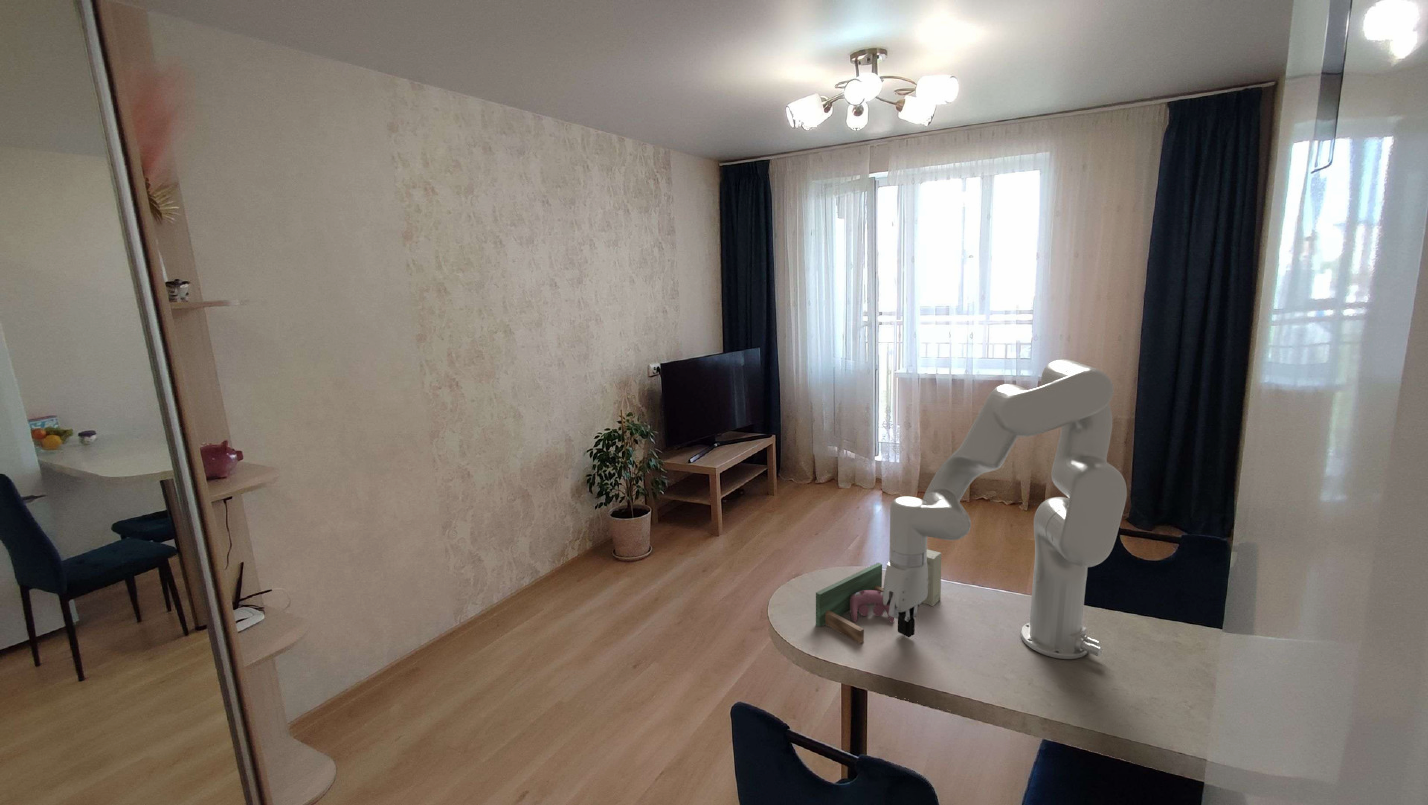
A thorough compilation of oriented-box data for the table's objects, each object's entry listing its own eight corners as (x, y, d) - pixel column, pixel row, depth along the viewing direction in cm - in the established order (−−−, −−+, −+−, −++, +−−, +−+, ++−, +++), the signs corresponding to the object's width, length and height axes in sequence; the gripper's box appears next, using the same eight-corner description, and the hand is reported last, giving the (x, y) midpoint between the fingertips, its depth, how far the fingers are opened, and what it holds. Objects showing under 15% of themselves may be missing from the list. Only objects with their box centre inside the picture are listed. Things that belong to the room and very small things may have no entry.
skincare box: (941, 599, 151) (943, 552, 148) (932, 607, 148) (934, 559, 145) (916, 591, 155) (918, 545, 153) (907, 597, 152) (909, 551, 150)
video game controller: (892, 621, 145) (890, 589, 147) (896, 623, 141) (894, 590, 143) (849, 621, 146) (847, 589, 148) (851, 622, 142) (850, 590, 143)
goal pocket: (916, 610, 146) (917, 579, 145) (854, 646, 133) (855, 612, 132) (877, 592, 155) (878, 562, 153) (815, 624, 142) (815, 592, 140)
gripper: (914, 539, 139) (912, 614, 143) (870, 560, 131) (869, 638, 135) (944, 550, 134) (941, 628, 137) (900, 572, 125) (898, 655, 129)
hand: (905, 633), depth 136 cm, fingers closed
